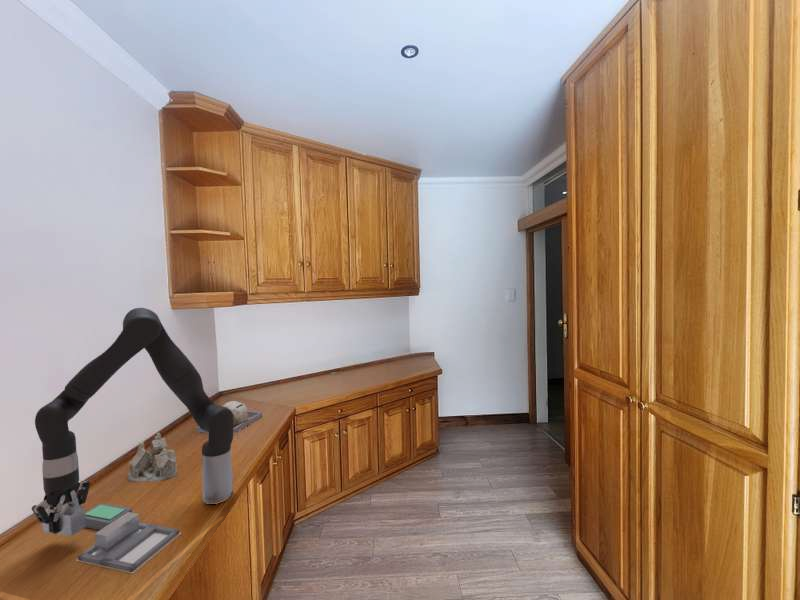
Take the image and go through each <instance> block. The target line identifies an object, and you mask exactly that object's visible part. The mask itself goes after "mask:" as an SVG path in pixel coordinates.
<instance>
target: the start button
mask: <svg viewBox="0 0 800 600" xmlns="http://www.w3.org/2000/svg"><path fill="white" fill-rule="evenodd" d="M98 505H99V504H98ZM124 511H125V509H120V508H115V507H109V506H104V505H99V506H98V507H96V508H94V509H93V510H91V511H89V512H87V511H86V512H87V513H86V514H85V516H88V517H93V518H99V519H104V520H109V521H110V520H112V519H113V518H115V517H116V516H118V515H120V514H121V513H123V512H124Z"/></svg>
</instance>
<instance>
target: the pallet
mask: <svg viewBox="0 0 800 600" xmlns="http://www.w3.org/2000/svg"><path fill="white" fill-rule="evenodd" d="M181 533H182V532H180V529H177V528H172V527H166V526H162V525H156V524H152V523H151V524H150V523H147V522H140V521H139V533H137V534H136V535H135V536H133V537H132V538H131V539H129V540H128V541H127V542H125V543H124V544H122V545H121V546H120V547H118V548H117V549H116V550H114V551H113V552H111V553H110V554H109V555H107V556H106V557H105V556H100V555H96V554H95V544H94V545H92V546H90V547H89V548H87V549H85V551H83V552H82V553H80V554H79V555H77V559H76V560H75V561H76V562H80V563H86V564H89V565H93V566H96V567H101V568H102V567H103V568H106V569H110V570H116V571H120V572H124V573H129V574H134V573H135V572H136V571H138V570H139V569H140V568H141V567H142V566H144V565H145V564H146V563H147V562H148V561H149V560H151V559H152V558H154V556H156V555H157V554H158V553H159V552H161V551H162V550H163V549H164V548H165V547H166V546H168V545H169V544H170V543H171V542H173V541H174V540H175V539H176V538H178V536H180V535H181Z"/></svg>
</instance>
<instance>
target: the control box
mask: <svg viewBox="0 0 800 600" xmlns="http://www.w3.org/2000/svg"><path fill="white" fill-rule="evenodd" d="M99 505H104V506H109V507H115V508H120V509H125V511H124V512H123V513H121V514H120V515H118V516H116V517H115V518H113V519H112V520H110V521H109V520H104V519H99V518H93V517H88V516H85V517H86V527H85V528H88V529H93V530H98V531H99V530H101V529H103V528H104V527H106V526H107V525H109V524H110V523H112V522H113V521H115V520H116V519H118V518H119V517H121V516H123V515H124V514H126V513H127V512H131V513H133V508H132V507H127V506H120V505H115V504H109V503H104V502H101V503H99V504H97V505H95V506H93V507H91V508H90V509H88V510H87V511H85V514H86V513H87V512H89V511H91V510H93V509H94V508H96V507H98V506H99Z"/></svg>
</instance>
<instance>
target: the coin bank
mask: <svg viewBox="0 0 800 600" xmlns="http://www.w3.org/2000/svg"><path fill="white" fill-rule="evenodd" d="M222 407H225V408H228V409H230V410H231V411H232V413H233V417H234V428H235V427H236V426H238V425H240V424H241V423H243V422H245V421H247V420H248V419H249V416H248V411H249V410H248V408H247V406H246V405H245V404H244V403H243V402H239V401H236V400H230V401H227V402H225V403H223V405H222Z"/></svg>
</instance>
